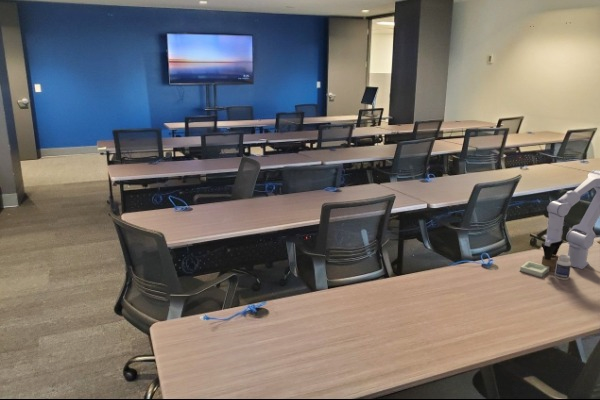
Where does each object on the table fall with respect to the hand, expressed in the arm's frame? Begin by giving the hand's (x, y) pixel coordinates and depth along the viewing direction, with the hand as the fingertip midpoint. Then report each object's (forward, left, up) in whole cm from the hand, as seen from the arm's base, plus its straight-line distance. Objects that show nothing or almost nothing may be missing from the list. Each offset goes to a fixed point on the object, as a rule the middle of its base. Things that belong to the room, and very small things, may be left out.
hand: (550, 256), depth 203 cm
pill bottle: (+6, +7, -6) cm, 11 cm away
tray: (+7, -3, -6) cm, 10 cm away
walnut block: (0, 0, -6) cm, 6 cm away
